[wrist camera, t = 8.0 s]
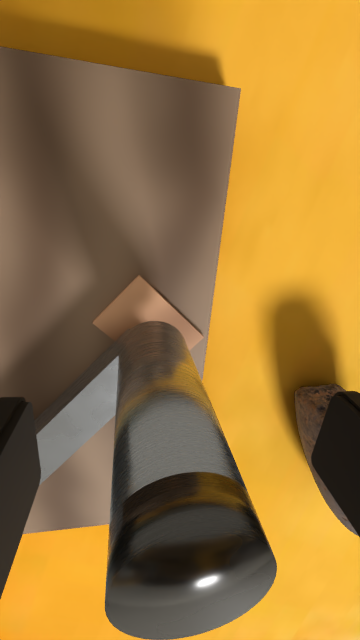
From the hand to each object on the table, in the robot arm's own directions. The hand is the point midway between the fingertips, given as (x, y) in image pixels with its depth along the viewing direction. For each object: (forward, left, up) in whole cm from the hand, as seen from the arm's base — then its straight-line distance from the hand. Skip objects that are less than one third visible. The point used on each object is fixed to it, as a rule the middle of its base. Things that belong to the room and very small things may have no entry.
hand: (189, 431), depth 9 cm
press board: (+7, +3, -10) cm, 12 cm away
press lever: (+7, +7, -7) cm, 12 cm away
